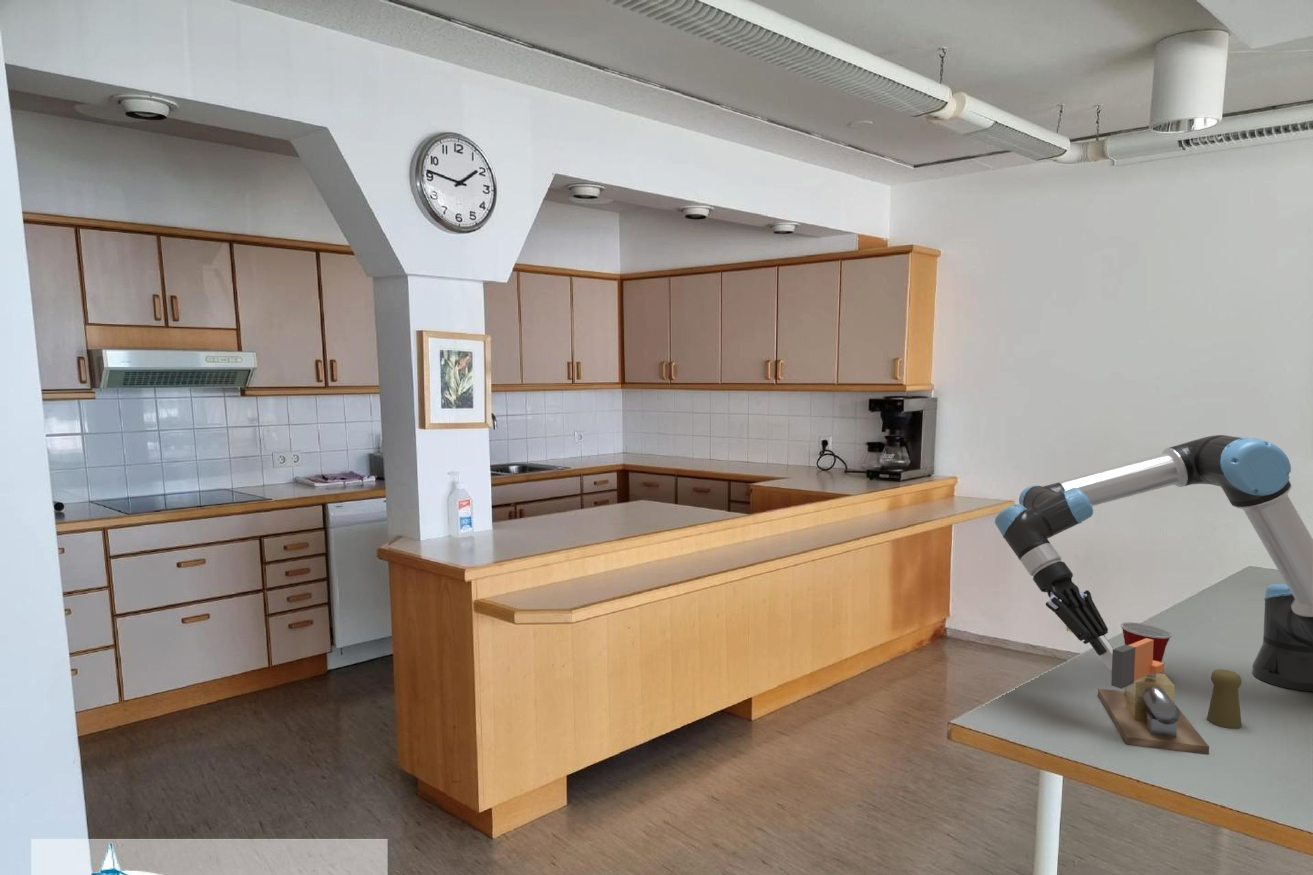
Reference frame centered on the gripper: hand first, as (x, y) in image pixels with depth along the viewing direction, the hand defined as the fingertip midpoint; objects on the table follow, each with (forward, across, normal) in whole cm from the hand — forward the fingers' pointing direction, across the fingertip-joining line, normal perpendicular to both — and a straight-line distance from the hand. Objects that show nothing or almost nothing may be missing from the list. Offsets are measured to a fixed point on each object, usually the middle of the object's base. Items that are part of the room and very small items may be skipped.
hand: (1117, 667), depth 165 cm
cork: (+16, -23, -2) cm, 28 cm away
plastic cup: (0, -36, -19) cm, 40 cm away
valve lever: (+4, -4, -1) cm, 5 cm away
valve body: (+9, -10, -7) cm, 15 cm away
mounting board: (+10, -10, -8) cm, 16 cm away
